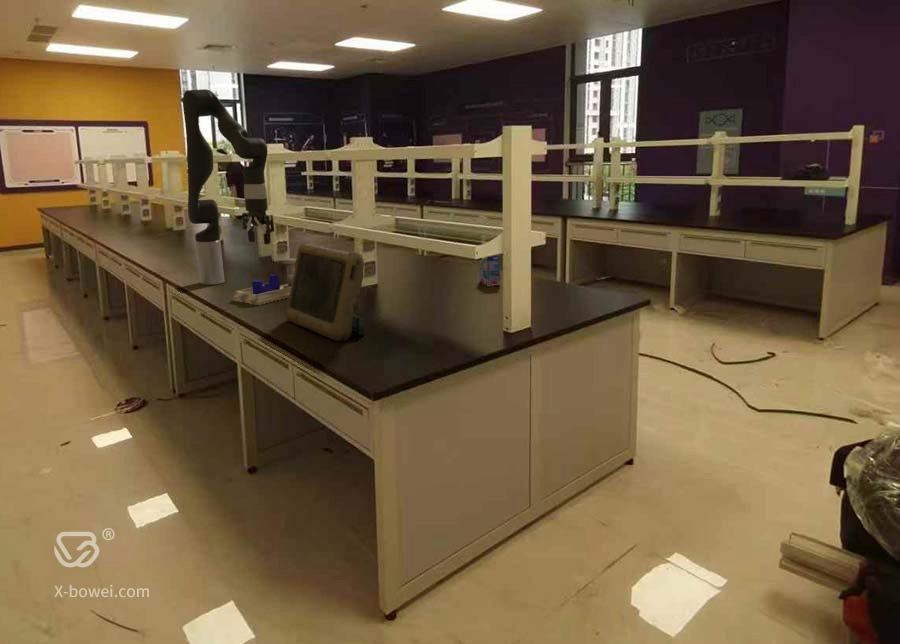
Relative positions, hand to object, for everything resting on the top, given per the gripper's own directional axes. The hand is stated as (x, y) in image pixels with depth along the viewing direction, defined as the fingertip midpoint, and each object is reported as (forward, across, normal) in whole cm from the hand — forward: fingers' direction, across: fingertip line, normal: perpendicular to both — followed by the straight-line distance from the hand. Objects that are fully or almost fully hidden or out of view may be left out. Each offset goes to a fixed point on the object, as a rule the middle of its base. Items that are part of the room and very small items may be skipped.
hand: (259, 242), depth 231 cm
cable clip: (+19, +1, 0) cm, 19 cm away
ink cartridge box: (+20, +56, +66) cm, 88 cm away
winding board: (+20, +1, +4) cm, 21 cm away
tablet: (+20, +48, -16) cm, 54 cm away
